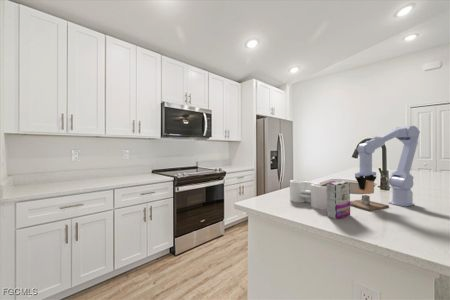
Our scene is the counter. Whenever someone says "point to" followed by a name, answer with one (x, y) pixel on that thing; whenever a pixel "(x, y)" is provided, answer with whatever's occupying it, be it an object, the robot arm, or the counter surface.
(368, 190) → the tan rectangular block
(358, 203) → the post board
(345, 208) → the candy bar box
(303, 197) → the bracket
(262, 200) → the counter surface
